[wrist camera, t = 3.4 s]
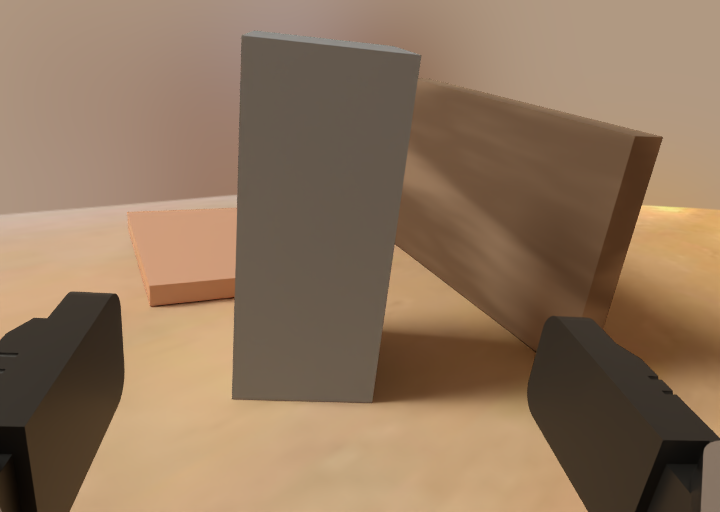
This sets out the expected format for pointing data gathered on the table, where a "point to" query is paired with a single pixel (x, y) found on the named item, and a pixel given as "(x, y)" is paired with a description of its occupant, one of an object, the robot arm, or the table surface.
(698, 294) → the table surface
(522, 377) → the table surface
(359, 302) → the slate block
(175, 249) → the terracotta tile
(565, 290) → the walnut screen
